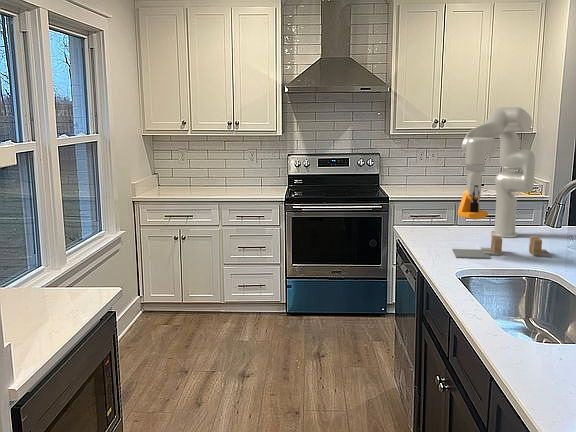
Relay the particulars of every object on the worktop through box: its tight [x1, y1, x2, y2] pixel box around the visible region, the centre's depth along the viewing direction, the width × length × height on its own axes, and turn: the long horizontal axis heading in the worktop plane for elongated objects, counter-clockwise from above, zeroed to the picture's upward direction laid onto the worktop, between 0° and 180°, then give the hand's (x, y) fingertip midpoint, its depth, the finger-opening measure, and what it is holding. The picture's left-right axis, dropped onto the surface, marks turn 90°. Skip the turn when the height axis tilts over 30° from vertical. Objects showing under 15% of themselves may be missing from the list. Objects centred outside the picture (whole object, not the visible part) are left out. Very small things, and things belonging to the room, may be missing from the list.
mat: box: [452, 248, 492, 260], centre depth 242 cm, size 14×14×1 cm
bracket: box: [457, 188, 489, 220], centre depth 238 cm, size 11×7×12 cm, turn 118°
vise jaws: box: [480, 234, 553, 258], centre depth 242 cm, size 10×27×7 cm, turn 80°
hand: (473, 210), depth 239 cm, fingers closed on bracket, 4 cm apart
